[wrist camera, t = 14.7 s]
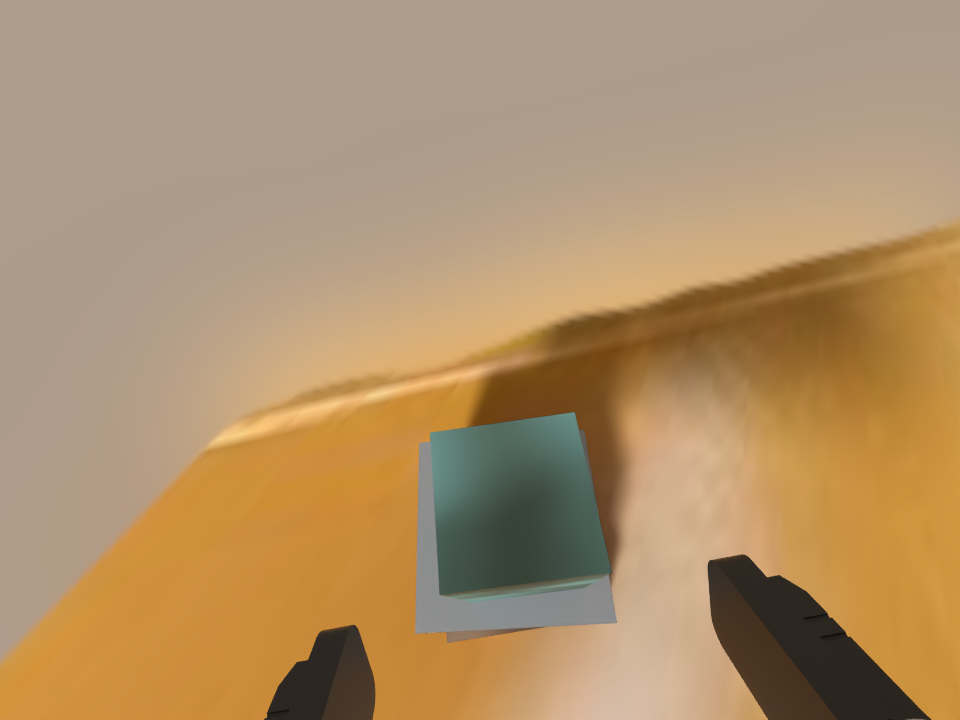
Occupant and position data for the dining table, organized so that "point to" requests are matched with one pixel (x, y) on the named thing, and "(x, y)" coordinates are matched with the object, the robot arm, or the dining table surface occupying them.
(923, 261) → the dining table surface
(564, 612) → the grey block
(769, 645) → the robot arm
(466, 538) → the teal block
